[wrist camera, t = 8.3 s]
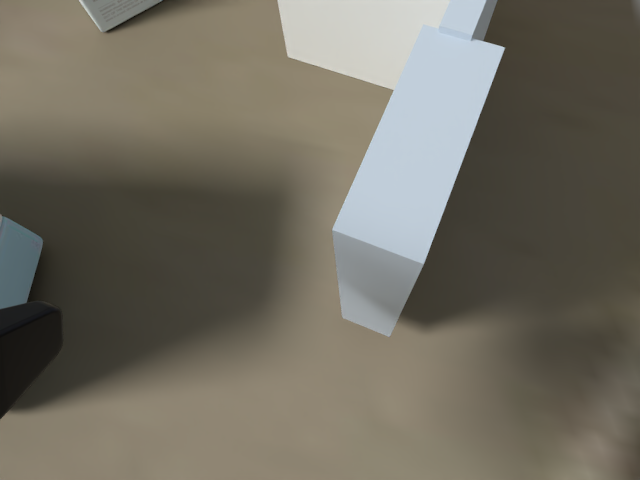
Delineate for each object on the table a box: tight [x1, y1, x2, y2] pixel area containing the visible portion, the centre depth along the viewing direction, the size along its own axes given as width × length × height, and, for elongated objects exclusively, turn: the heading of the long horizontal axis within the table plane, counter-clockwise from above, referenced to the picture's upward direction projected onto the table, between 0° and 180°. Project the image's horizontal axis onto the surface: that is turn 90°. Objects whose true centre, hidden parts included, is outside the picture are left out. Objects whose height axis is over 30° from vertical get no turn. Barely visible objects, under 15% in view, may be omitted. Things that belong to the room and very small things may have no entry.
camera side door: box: [332, 0, 505, 337], centre depth 17 cm, size 14×2×11 cm, turn 157°
